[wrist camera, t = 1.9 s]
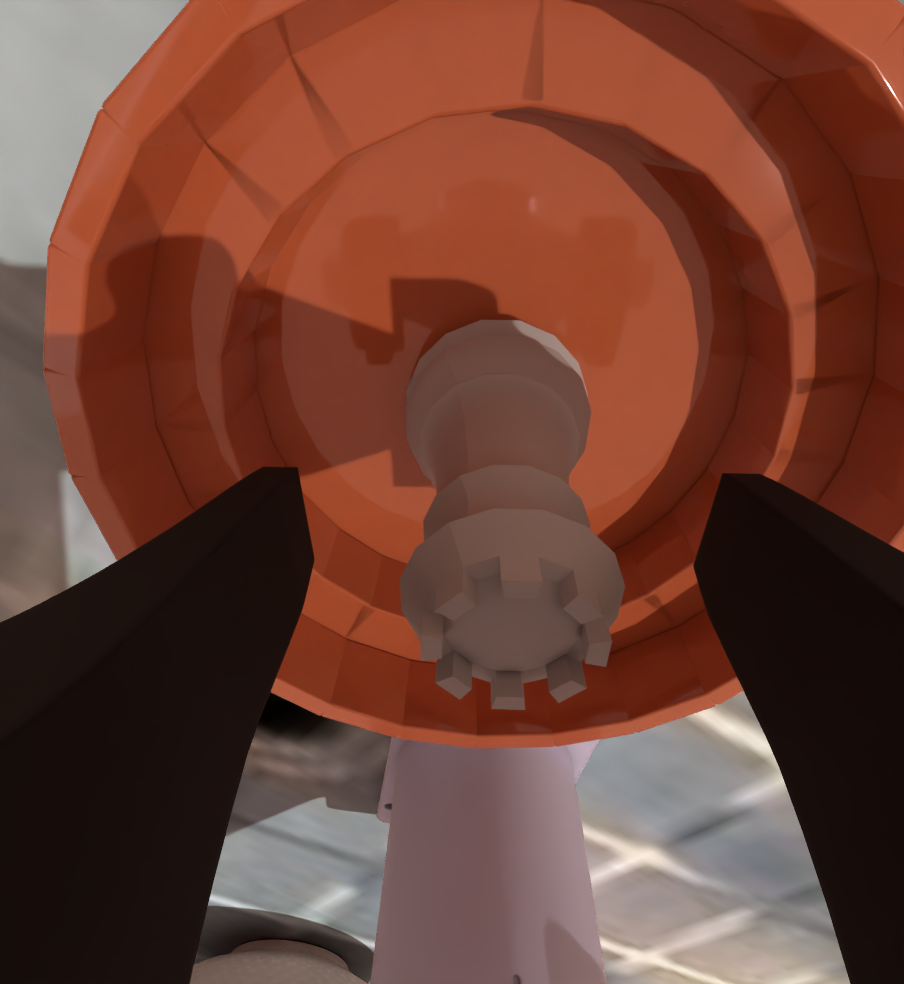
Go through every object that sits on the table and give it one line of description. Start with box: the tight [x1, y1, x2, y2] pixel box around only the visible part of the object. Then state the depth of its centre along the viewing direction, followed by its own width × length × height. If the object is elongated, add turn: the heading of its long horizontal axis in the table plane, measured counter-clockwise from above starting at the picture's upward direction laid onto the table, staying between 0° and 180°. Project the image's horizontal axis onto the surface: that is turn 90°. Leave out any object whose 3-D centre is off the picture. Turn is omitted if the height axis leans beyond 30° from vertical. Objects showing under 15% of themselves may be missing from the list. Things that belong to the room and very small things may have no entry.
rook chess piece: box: [400, 320, 625, 710], centre depth 11 cm, size 4×4×8 cm
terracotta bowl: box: [43, 0, 904, 749], centre depth 12 cm, size 16×16×5 cm
